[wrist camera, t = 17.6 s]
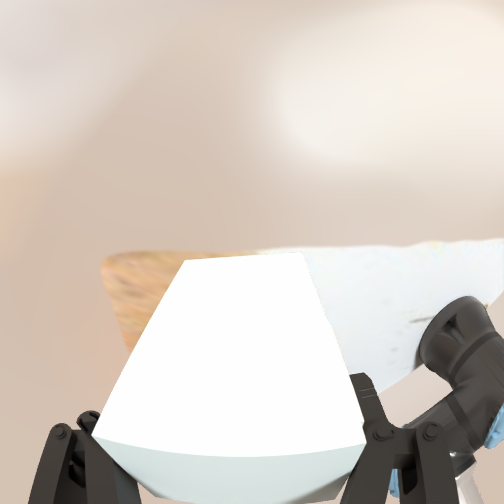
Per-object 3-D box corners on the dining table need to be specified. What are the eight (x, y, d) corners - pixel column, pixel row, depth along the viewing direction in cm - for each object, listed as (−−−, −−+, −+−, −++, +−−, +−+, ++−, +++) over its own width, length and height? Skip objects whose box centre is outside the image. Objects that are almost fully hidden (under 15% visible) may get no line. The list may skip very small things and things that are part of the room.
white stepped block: (185, 260, 19) (91, 435, 6) (301, 251, 19) (366, 442, 5) (229, 437, 27) (220, 539, 14) (297, 434, 27) (306, 538, 14)
